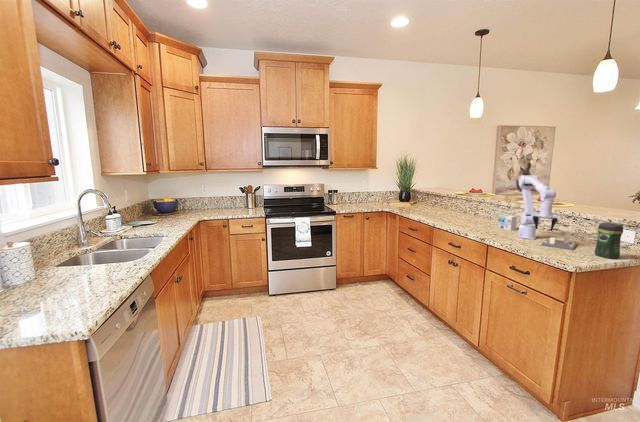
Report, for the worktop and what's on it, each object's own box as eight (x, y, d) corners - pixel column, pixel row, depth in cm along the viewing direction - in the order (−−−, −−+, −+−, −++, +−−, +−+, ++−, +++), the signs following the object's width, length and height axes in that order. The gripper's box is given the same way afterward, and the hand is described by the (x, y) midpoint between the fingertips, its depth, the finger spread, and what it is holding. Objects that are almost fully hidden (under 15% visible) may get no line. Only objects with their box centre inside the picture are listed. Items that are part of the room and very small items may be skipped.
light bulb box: (497, 228, 237) (498, 214, 235) (502, 227, 239) (504, 214, 238) (510, 230, 227) (512, 217, 225) (516, 229, 230) (517, 216, 228)
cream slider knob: (563, 242, 185) (564, 237, 185) (564, 242, 187) (565, 236, 187) (568, 243, 183) (569, 237, 183) (569, 242, 185) (570, 237, 185)
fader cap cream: (549, 243, 184) (550, 237, 183) (550, 242, 186) (550, 237, 185) (554, 244, 182) (554, 238, 182) (555, 243, 184) (555, 237, 184)
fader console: (541, 245, 184) (541, 242, 184) (547, 240, 196) (547, 237, 196) (572, 250, 173) (573, 247, 173) (576, 244, 186) (577, 241, 185)
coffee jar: (622, 259, 157) (628, 225, 154) (609, 259, 156) (615, 225, 153) (603, 253, 166) (607, 221, 163) (591, 254, 165) (595, 222, 162)
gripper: (530, 207, 187) (528, 228, 189) (559, 210, 177) (557, 232, 179) (533, 206, 192) (531, 227, 194) (561, 209, 181) (559, 230, 183)
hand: (543, 229), depth 186 cm, fingers open, 7 cm apart
